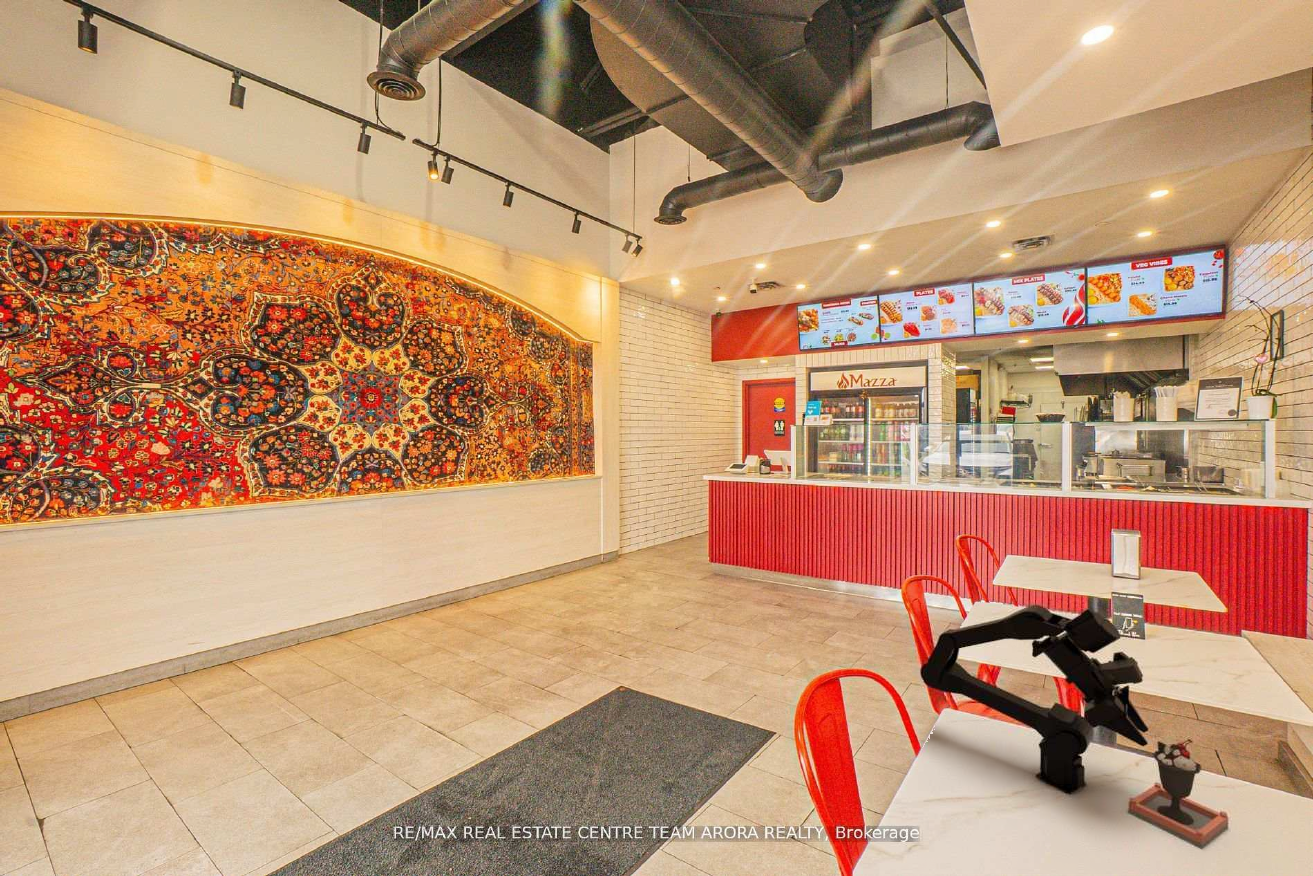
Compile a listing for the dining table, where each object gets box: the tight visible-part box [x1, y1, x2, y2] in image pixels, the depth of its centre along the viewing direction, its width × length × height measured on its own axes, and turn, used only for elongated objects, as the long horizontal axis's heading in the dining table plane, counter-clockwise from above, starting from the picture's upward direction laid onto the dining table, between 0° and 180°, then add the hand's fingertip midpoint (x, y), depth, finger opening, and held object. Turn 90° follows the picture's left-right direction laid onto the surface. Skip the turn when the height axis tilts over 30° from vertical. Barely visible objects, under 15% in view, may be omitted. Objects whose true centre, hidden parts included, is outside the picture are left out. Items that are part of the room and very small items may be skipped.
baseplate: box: [1128, 781, 1229, 849], centre depth 107 cm, size 11×11×3 cm
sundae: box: [1152, 738, 1202, 824], centre depth 107 cm, size 7×7×15 cm
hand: (1145, 738), depth 110 cm, fingers open, 6 cm apart
